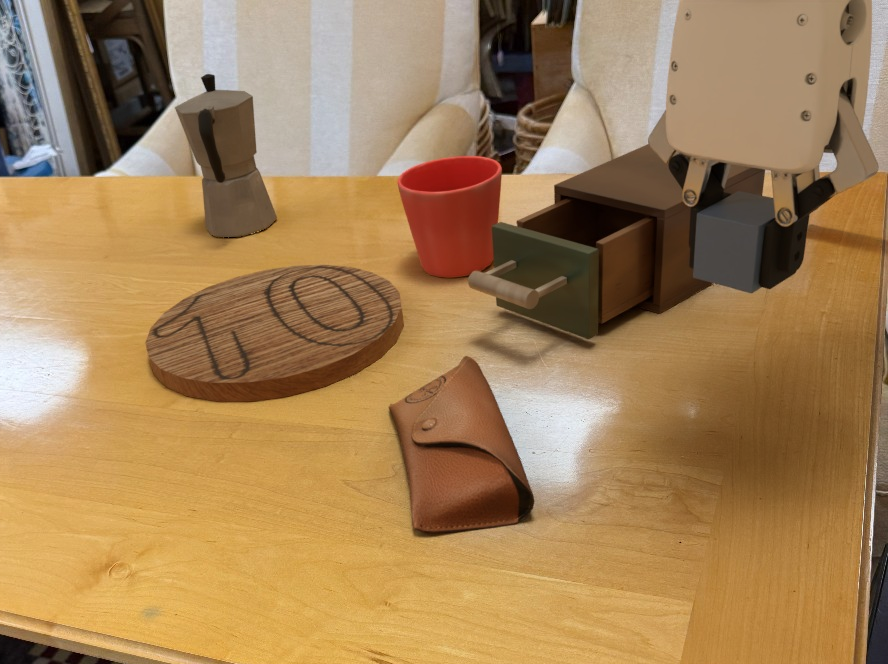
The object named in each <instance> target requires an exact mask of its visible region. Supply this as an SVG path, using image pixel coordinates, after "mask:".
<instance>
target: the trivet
mask: <svg viewBox="0 0 888 664" xmlns="http://www.w3.org/2000/svg"><path fill="white" fill-rule="evenodd" d="M404 326H405V323H404V316H403V308H402V299H401V293H400V292H399V290H398V289H397V288H396V287H395V285H394V284H393V283H392V282H391V281H390V280H389V279H387V278H384V277H382V276H380V275H379V274H377V273H375V272H372V271H369V270H365V269H361V268H357V267H353V266H345V265H344V266H343V265H332V264H306V265H305V264H304V265H303V264H302V265H291V266H284V267H276V268H270V269H264V270H259V271H255V272H252V273H251V272H250V273H247V274H243V275H238V276H235V277H232V278H229V279H227V280H224V281H221V282H218V283H215V284H212V285H210V286H207V287H205V288H203V289H201V290H198V291H197V292H195V293H193V294H190V295H189V296H187V297H185V298H183V299H182V300H180V301H179V302H177V303H176V304H174V305H173V306H172V307H170V308H169V309H167V310H166V311H164V312H163V313H162V315H161V316H160V317H159V318H158V319H157V320H156V321H155V322H154V323H153V325H151V327H150V328H149V332H148V334H147V337H146V339H145V343H144V344H145V347H146V352H147V356H148V359H149V363H150V367H151V369H152V372H153V375H154V377H156V378H157V380H159V381H160V382H161V383H162V384H163V385H164V386H165V388H167V389H170V390H172V391H174V392H177V393H179V394H181V395H184V396H186V397H189V398H194V399H199V400H200V399H201V400H205V401H213V402H258V401H266V400H273V399H280V398H281V399H282V398H286V397H287V398H288V397H291V396H296V395H299V394H304V393H307V392H310V391H315V390H318V389H321V388H325V387H328V386H330V385H333V384H334V383H337V382H340V381H342V380H344V379H347V378H349V377H351V376H354V375H356V374H358V373H360V372H361V371H362V370H364V369H365V368H367V367H368V366H371V365H372V364H373V363H375V362H377V361H378V360H379V359H381V358H383V356H384V355H385V354H386V353H387V352H388V351H389V350H390V349H391V348H392V347H393V346H394V345H395V344H396V343H397V342H398V340H399V339H400V335H401V334H402V333H401V332H402V331H403V328H404Z"/></svg>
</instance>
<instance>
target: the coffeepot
mask: <svg viewBox="0 0 888 664" xmlns="http://www.w3.org/2000/svg"><path fill="white" fill-rule="evenodd" d="M200 80H201V82H202V84H203V87H204V89H205V92H202V93H200V94H198V95H196V96H193V97H191V98H189V99H187V100H185V101H184V102H181V103H180V104H177V105H176V106H174V110H175V112H176V114H177V117H178V119H179V122H180V125H181V127H182V129H183V132H184V134H185V137H186V140H187V142H188V144H189V147H190V149H191V152H192V154H193V157H194V160H195V161H196V163H197V164H198V165H199V166H200V170H201V173H202V179H201V185H202V186H201V187H202V199H203V206H204V207H203V210H204V211H203V212H204V220H205V221H204V223H205V228H206V230H207V231H208V233H209V235H211V236H212V235H213V236H212V237H214V238H219V237H223V238H222V239H225V238H224V237H228V238H227V239H230V238H229V237H237V238H242V237H241V236H243V237H245V236H244V235H248V234H251V233H254V232H257V231H260V230H263V231H265V230H267V229H268V228H267V227H269V226H270V225H271V224H272V223H273V222H274V221H276V220H277V219H278V216H277V214H276V211H275V208H274V206H273V203H272V201H271V198H270V195H269V192H268V190H267V187H266V185H265V182H264V180H263V177H262V174H261V171H260V170H259V169H258V167H257V164H256V160H255V155H256V154H257V152H258V151H257V139H256V125H255V124H256V122H255V110H254V96H253V95H252V94H250V93H249V92H247V91H245V90H231V89H230V90H229V89H216V75H215V74H211V73H206V74H204V75H203V76H201V77H200ZM274 223H275V222H274ZM274 223H273V224H274ZM273 224H272V225H273ZM272 225H271V226H272ZM271 226H270V227H271ZM270 227H269V228H270ZM266 228H267V229H266ZM264 229H265V230H264ZM248 236H249V235H248Z"/></svg>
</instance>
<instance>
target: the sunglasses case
mask: <svg viewBox="0 0 888 664" xmlns="http://www.w3.org/2000/svg"><path fill="white" fill-rule="evenodd" d="M388 411H389V413H390V415H391V417H392V419H393V421H394V423H395V426H396V430H397V433H398V437H399V441H400V445H401V449H402V453H403V459H404V463H405V468H406V473H407V474H406V475H407V480H408V486H409V494H410V505H411V519H412V526H413V529H414V530H415V531H418V532H422V533H426V534H430V533H432V534H433V533H434V534H435V533H456V532H457V533H458V532H468V531H476V530H482V529H491V528H497V527H504V526H506V527H507V526H510V525H517V524H519V523H520V522H521V521H523V520H525V519H526V518H527V517H528V516H529V515H530V514H531V512H532V511H533V510H534V505H535V498H534V497H535V496H534V493H533V490H532V488H531V484H530V483H529V479H528V477H527V473H526V471H525V468H524V465H523V463H522V459H521V458H520V455H519V452H518V449H517V447H516V445H515V442H514V439H513V437H512V435H511V433H510V431H509V428H508V426H507V423H506V421H505V418H504V416H503V413H502V411H501V409H500V407H499V403H498V402H497V400H496V397H495V394H494V392H493V389H492V388H491V385H490V383H489V382H488V380H487V378H486V376H485V375H484V373H483V370H482V369H481V366H480V365H479V363H478V362H477V361H476V360H475V359H474V358H473V357H471V356H468V355H465V356H463V358H462V359H461V360H460V362H459V363H458V365H456V366H455V367H453V368H452V369H450V370H448V371H446V372H445V373H443V374H441V375H440V376H438V377H436V378H435V379H433V380H431V381H430V382H428V383H426V384H425V385H423V386H421V387H420V388H418V389H416V390H415V391H413V392H411V393H409V394H408V395H406V396H405V397H404V398H402V399H400V400H398V401H397V402H395V403H390V404H389V406H388Z"/></svg>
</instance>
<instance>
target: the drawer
mask: <svg viewBox="0 0 888 664" xmlns="http://www.w3.org/2000/svg"><path fill="white" fill-rule="evenodd" d="M657 218H658V217H654V216H650V215H646V214H641V213H637V212H633V211H629V210H624V209H620V208H616V207H611V206H607V205H603V204H599V203H594V202H590V201H586V200H581V199H577V198H573V197H568V198H566V199H564V200H562V201H560V202H557V203H555V202H554V203H553V204H551V205H549V206H546V207H543V208H541V209H540V210H537V211H535V212H533V213H531V214H528V215H526V216H524V217H522V218H520V219H517V220H516V225H513V224H510V223H507V222H503V221H498V223H497V224H495V225H493V226H492V242H493V258H494V259H493V268H492V269H490V270H488V271H486V272H483V271H473V272H472V273H471V274H470V275H468V280H467V284H468V287H469V288H470V289H471V290H474V291H477V292H480V293H483V294H486V295H489V296H492V297H494V298H495V305H496V306H497V307H498V308H502V309H504V310H507V311H510V312H513V313H515V314H518V315H520V316H524V317H526V318H529V319H532V320H534V321H537V322H540V323H542V324H545V325H548V326H551V327H553V328H556V329H558V330H560V331H561V330H562V331H565V332H567V333H570V334H573V335H576V336H578V337H581V338H584V339H586V340H591V339H593V338H595V337H597V336H599V324H604V323H606V322H608V321H609V320H611V319H613V318H615V317H617V316H619V315H621V314H622V313H624V312H626V311H628V310H630V309H632V308H633V307H636V306H635V305H637V304H638V303H640V302H642V301H644V300H646V299H648V298H649V297H651V296H653V295H654V275H655V254H656V233H657Z"/></svg>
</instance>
